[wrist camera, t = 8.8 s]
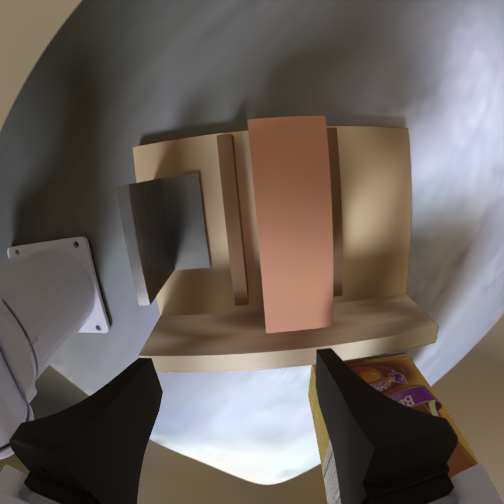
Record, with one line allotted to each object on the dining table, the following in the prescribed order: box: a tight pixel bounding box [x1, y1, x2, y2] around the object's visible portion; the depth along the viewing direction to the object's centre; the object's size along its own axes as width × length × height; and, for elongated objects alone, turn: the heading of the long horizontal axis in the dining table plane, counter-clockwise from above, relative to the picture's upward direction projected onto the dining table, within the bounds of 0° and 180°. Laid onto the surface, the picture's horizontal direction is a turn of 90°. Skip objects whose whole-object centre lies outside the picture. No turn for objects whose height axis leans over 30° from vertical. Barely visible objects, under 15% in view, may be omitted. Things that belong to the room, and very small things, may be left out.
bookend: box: [117, 173, 211, 305], centre depth 16 cm, size 3×6×6 cm, turn 5°
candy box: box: [308, 354, 479, 504], centre depth 16 cm, size 9×4×15 cm, turn 90°
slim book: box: [247, 115, 333, 333], centre depth 15 cm, size 3×9×7 cm, turn 5°
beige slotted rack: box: [133, 126, 439, 372], centre depth 17 cm, size 18×13×6 cm
